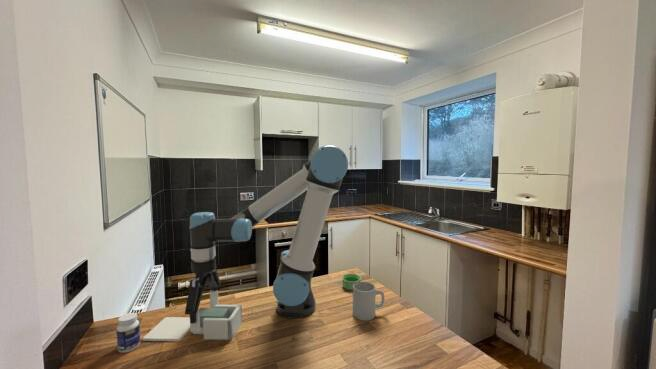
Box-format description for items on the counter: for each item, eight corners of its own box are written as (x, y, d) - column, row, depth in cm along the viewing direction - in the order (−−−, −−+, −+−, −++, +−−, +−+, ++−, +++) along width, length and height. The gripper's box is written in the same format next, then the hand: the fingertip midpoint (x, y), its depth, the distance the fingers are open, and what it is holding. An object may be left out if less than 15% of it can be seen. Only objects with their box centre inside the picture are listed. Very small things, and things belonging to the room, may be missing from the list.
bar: (229, 319, 94) (228, 308, 94) (223, 327, 89) (222, 316, 89) (201, 318, 94) (200, 307, 94) (193, 327, 90) (193, 315, 89)
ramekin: (340, 290, 121) (340, 280, 121) (342, 281, 130) (342, 272, 130) (360, 291, 120) (360, 282, 119) (361, 283, 128) (361, 274, 128)
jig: (241, 322, 97) (241, 304, 96) (231, 339, 87) (231, 320, 87) (203, 321, 97) (202, 304, 96) (188, 338, 87) (187, 319, 87)
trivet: (198, 319, 98) (197, 317, 98) (179, 341, 86) (178, 338, 86) (165, 319, 99) (165, 317, 98) (142, 340, 87) (142, 338, 87)
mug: (354, 321, 97) (354, 292, 96) (351, 308, 106) (351, 281, 105) (387, 320, 98) (387, 291, 97) (381, 307, 106) (381, 280, 105)
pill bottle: (128, 354, 80) (126, 323, 80) (112, 352, 81) (110, 320, 81) (145, 342, 86) (143, 312, 85) (130, 339, 87) (128, 310, 86)
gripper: (209, 246, 103) (211, 300, 104) (169, 273, 78) (172, 342, 79) (229, 247, 102) (230, 300, 104) (195, 273, 78) (197, 343, 79)
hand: (205, 318), depth 92 cm, fingers open, 13 cm apart
